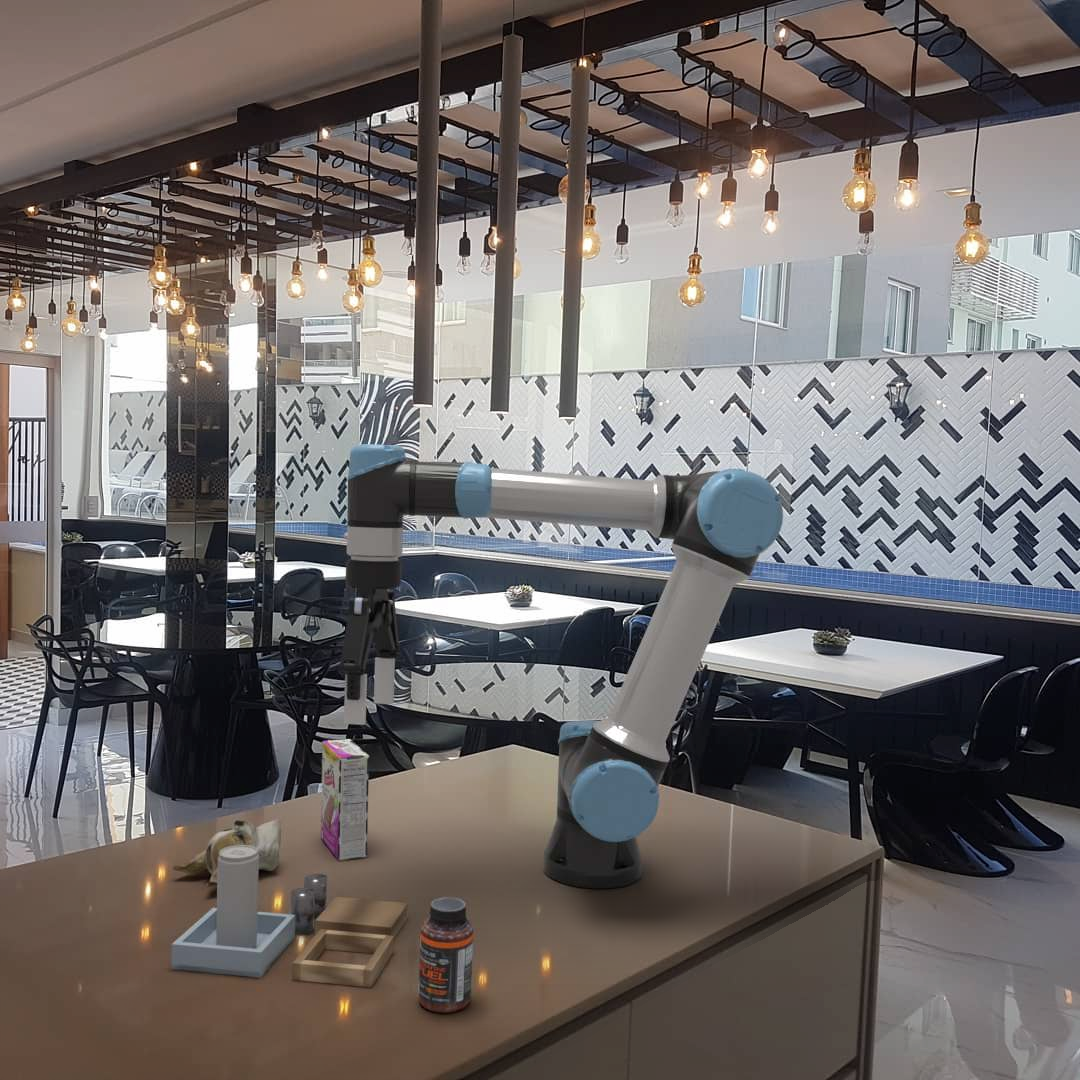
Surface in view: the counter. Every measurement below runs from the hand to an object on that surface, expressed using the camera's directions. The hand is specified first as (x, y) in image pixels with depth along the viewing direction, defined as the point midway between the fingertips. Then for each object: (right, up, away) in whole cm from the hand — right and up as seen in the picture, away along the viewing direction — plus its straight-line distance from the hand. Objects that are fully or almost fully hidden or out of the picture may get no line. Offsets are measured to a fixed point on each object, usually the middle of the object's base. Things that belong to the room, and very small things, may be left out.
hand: (369, 713), depth 141 cm
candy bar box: (-8, -26, +23) cm, 36 cm away
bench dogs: (-7, -27, -5) cm, 28 cm away
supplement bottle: (+13, -29, -25) cm, 40 cm away
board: (0, -28, -6) cm, 28 cm away
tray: (-14, -27, -15) cm, 34 cm away
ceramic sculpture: (-21, -26, +10) cm, 35 cm away
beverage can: (-14, -27, -15) cm, 33 cm away
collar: (0, -28, -17) cm, 32 cm away
